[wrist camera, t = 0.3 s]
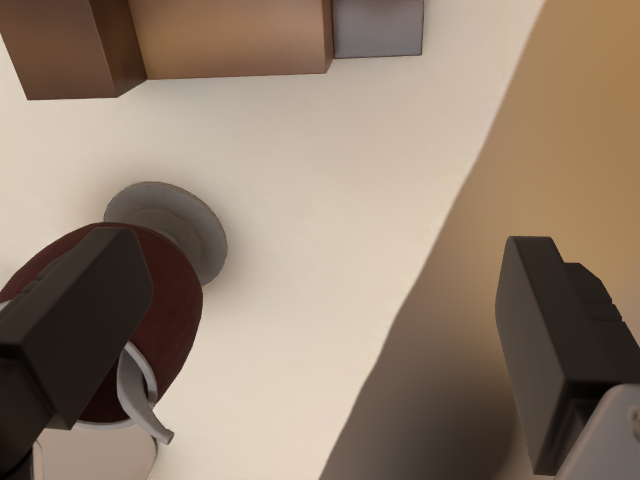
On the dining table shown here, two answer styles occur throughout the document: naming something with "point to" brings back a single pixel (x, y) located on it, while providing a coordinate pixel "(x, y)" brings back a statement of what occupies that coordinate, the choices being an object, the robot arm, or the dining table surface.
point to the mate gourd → (167, 305)
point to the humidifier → (97, 453)
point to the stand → (194, 40)
